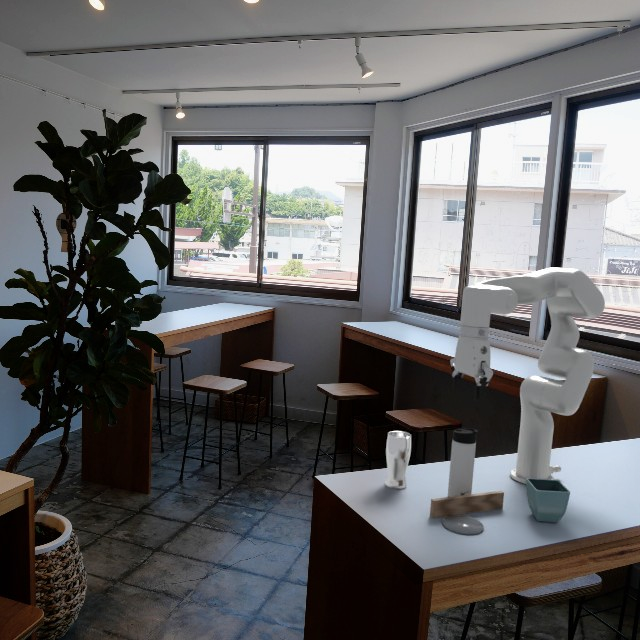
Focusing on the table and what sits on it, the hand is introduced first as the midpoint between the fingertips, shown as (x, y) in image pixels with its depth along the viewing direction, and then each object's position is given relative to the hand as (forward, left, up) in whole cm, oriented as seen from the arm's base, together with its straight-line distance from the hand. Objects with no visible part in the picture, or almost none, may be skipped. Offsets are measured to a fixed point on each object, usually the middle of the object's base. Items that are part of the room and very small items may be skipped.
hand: (468, 396), depth 168 cm
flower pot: (-15, +16, -29) cm, 37 cm away
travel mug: (0, 0, -29) cm, 29 cm away
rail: (+3, +7, -29) cm, 30 cm away
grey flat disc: (+9, +14, -29) cm, 33 cm away
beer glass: (+12, -14, -29) cm, 34 cm away
